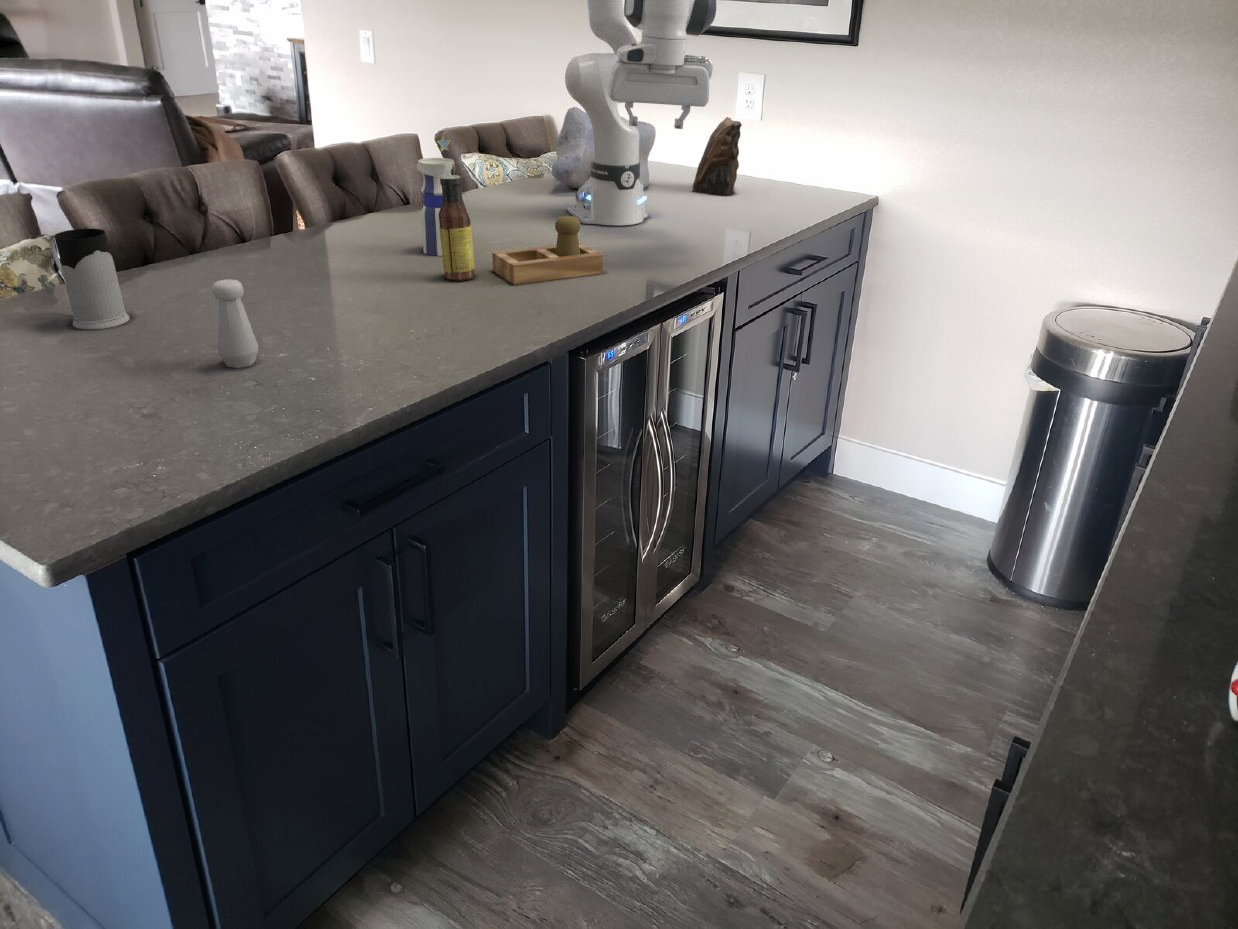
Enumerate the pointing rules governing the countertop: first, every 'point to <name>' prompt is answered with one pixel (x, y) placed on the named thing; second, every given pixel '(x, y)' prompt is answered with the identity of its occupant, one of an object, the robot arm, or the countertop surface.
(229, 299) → the salt shaker
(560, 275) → the socket block
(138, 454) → the countertop surface
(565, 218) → the olive green game pawn
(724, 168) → the rock
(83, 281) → the glass holder
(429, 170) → the blue tall piece
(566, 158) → the rock
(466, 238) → the sauce bottle
